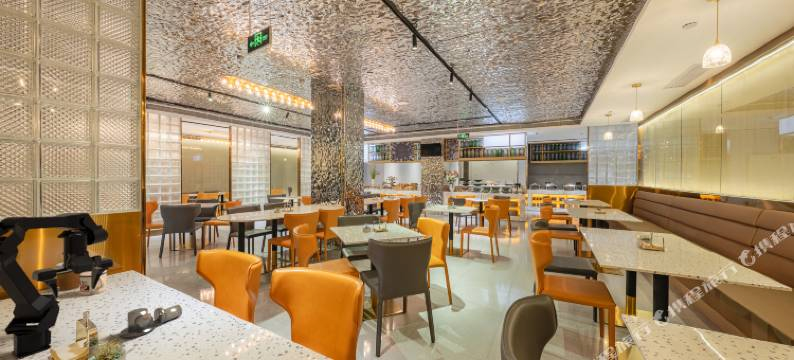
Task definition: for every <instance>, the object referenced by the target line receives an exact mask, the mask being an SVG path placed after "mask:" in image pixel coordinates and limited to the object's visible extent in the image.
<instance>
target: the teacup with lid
mask: <svg viewBox="0 0 794 360" xmlns="http://www.w3.org/2000/svg"><path fill="white" fill-rule="evenodd" d="M107 276H108V270H106V271H104V272H103V273H102V275H101V276H100V278H99V280H98V282H97V284H96V287H95V289H92V287H91V272H89V271H88V272H83V273H81V274H80V275H79V277H80V287H79V295H80V296H93V295H96V294H100V293H104V292H105V291H106V290H107V289H108V287H107V285H108V284H107V283H108V282H107V281H108V280H107V278H108V277H107Z"/></svg>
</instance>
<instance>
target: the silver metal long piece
mask: <svg viewBox="0 0 794 360" xmlns="http://www.w3.org/2000/svg"><path fill="white" fill-rule="evenodd" d="M182 314H183V309H182V306H181V305H180V304H175V305H172V306H171V307H167V308H163V307H160V306H159V307H157V308H155V309H154V311H153V323H152V324H151V325H150V326H149V327H147V328H146V329H144V330H142V331H139V332H134V333H129V332H128V326H127V327H125V328H124V329H122V330H121V331H120V332H119V338H120V339H123V340H127V339H129V340H130V339H135V338H139V337H143V336H145V335H148V334H150V333H151V332H153V331H154V330H155V329H156V328H158V327H160V326H162V324H163V323H166V322H168V321H171V320H174V319H176V318H179V317H181V316H182Z"/></svg>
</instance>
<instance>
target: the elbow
mask: <svg viewBox="0 0 794 360" xmlns="http://www.w3.org/2000/svg"><path fill="white" fill-rule="evenodd" d="M153 321H154V316H153V315H152V313H149V309H148V308H146V307H140V308H136V309H133V310H130V311H128V312H127V327H128V332H129V333H134V332H139V331H142V330H144V329H146V328H147V327H149V326H150V325H151V324H152V323H153Z"/></svg>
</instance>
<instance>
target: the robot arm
mask: <svg viewBox="0 0 794 360" xmlns="http://www.w3.org/2000/svg"><path fill="white" fill-rule="evenodd" d="M38 229H39V230H40V229H58V230H63V231H62V232H61V233H59V234H58V235H57V236H56V238H57V239H63V241H62V242H63V243H62V244H63V251H62V252H61V255H62V257H63V259H62V263H63V264H62V267H63V268H61V269H56V270H55V268H52V267H46V268H41V269H35V270H34V271H33V272H31V280H33V281H35V282H41V283H43V284H45V285H46V286H47V287H48V289H49V290H50V292H51V293H49V294H48V293H46V294H41V293H40V292H39V290H38V289H37V287H36V286H35V284H33V282H32V281H31V280H30V278H29V276H28V275H27V273H26V272H25V270H24V269H23V268H22V267H21V265H20V264H19V261H18V260H17V257H18V255H19V252H20V251H19V248H18V246H19V245H21V243H23V241H25V238H26V233H27V232H28V231H30V230H38ZM11 231H12V232H11ZM9 232H11V233H10V234H9V235H7V234H8V233H9ZM4 235H7V236H4ZM108 238H109V233H108V231H107V229H106V228H104V227H103V224H97V223H96V221H95V220H94V219H93V217H92V216H91V215H90V213H88V212H64V213H60V214H59V213H58V214H56V215H53V216H8V217H4V218H3V219H1V220H0V287H1V288H2V289H3V291H4V292H5V293H6V295H8V297H9V299H11V301H12V302H13V303H14V305H15V306H14V309H13V312H12V314H13V318H12V319H11V321H9V323H8V324H7V326H5V328H4V329H3V330H4V333H5V334H6V335H7V336H10V335H13V350H12V351H10V353H11V355H13V356H14V357H15V358H16V359H18V358H19V359H22V358H21V357H23V358H25V357H27V355H28V356H31V355H34V354H38V353H40V352H42V351H45V350H48V349H51V348H52V345H51V344H52V330H51V328H54V327H55V326H56V323H57V320H58V316H59V313H60V306H59V304H60V301H58V300H57V299H58V297H59V292H58V290H59V289H58V278H56V277H57V275H59V274H64V273H69V272H74V273H75V274H81V273H83V272H88V271H89V272H91V287H92V289H95V287H96V284H97V282H98V280H99V278H100V276H101V275H102V273H103V272H104V271H106V270H107V271H108V270H109V268H112V267H114V260H113V259H111V258H107V257H102V256H101V254H98V255H93V256H90V252H89V250H88V247H89V246H92V245H95V244H100V243H104V242H105V241H107V240H108ZM68 269H72V270H68ZM30 354H31V355H30ZM24 356H25V357H24Z"/></svg>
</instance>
